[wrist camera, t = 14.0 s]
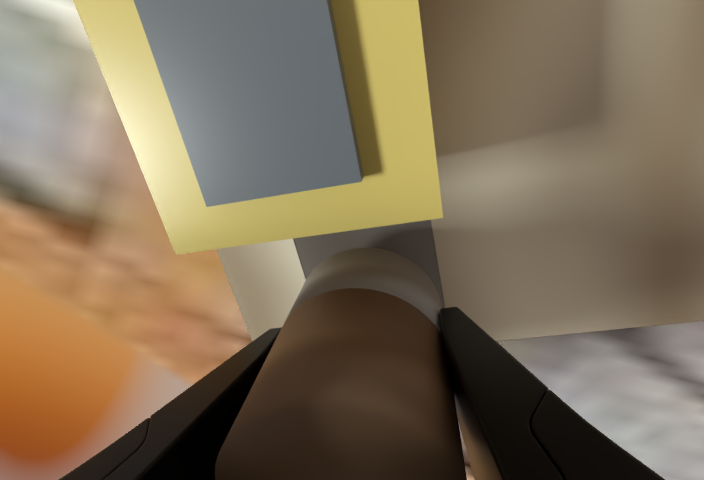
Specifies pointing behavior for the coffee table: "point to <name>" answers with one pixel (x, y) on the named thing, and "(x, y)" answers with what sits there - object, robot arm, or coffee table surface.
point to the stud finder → (271, 114)
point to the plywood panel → (542, 172)
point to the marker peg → (352, 382)
